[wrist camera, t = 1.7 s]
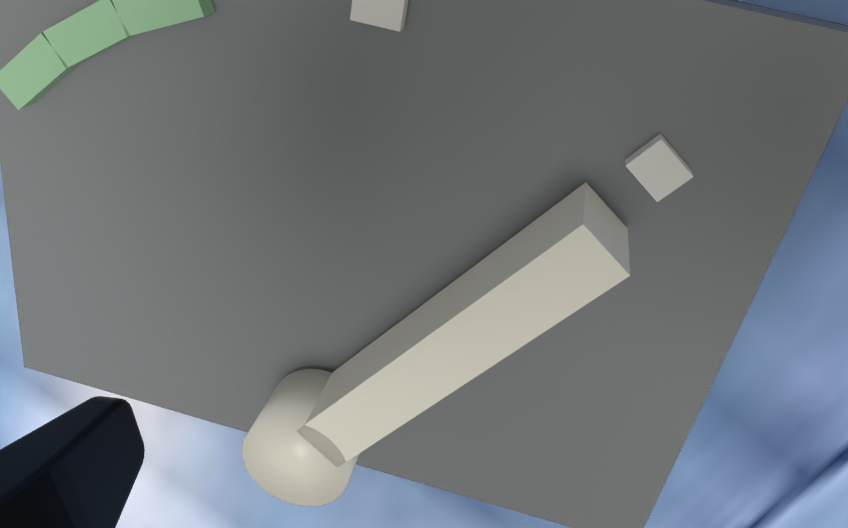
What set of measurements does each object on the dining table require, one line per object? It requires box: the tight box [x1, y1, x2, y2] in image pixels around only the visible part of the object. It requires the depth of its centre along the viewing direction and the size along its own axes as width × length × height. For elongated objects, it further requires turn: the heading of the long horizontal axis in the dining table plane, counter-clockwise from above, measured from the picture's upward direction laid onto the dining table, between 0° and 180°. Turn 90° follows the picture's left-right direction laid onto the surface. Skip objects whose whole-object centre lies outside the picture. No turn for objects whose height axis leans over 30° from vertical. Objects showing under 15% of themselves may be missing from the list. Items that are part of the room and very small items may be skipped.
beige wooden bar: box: [242, 182, 630, 506], centre depth 20 cm, size 13×3×2 cm, turn 135°
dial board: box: [0, 0, 848, 528], centre depth 21 cm, size 16×21×2 cm
